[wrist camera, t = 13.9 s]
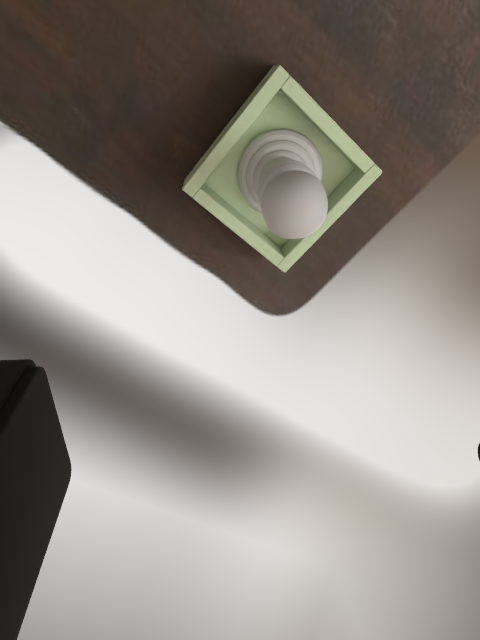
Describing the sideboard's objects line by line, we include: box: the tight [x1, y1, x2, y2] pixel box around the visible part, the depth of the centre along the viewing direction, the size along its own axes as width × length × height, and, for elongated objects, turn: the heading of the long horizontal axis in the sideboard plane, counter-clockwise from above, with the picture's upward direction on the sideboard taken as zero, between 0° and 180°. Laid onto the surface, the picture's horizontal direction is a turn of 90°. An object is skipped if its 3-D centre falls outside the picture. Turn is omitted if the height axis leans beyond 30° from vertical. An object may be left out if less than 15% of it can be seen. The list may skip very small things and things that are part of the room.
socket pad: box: [182, 65, 382, 273], centre depth 28 cm, size 9×9×3 cm
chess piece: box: [237, 129, 328, 239], centre depth 25 cm, size 5×5×9 cm
